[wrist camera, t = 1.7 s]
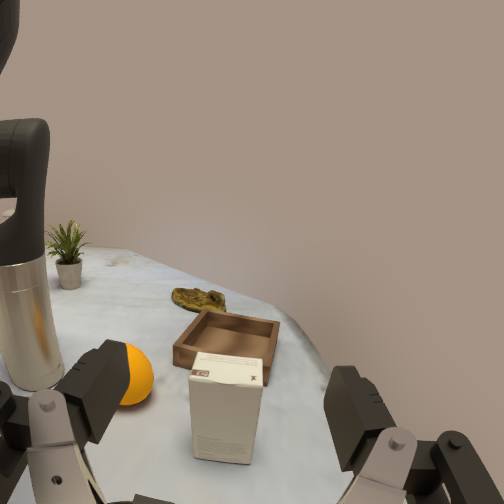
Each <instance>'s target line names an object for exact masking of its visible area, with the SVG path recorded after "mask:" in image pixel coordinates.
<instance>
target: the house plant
mask: <svg viewBox="0 0 504 504" xmlns="http://www.w3.org/2000/svg"><path fill="white" fill-rule="evenodd" d="M72 223H73V222H72V220H71V221H69V223H68V227H67V236H66V234H65V232H64V230H63V228H62V226H61V224H60V225H59V226H60V231H61V234H60V233H58V231H57V230H56V229H55V228H54V227H53V226H51V227H52V228H53V229H54V231H55V233H56V234H57V236H58V238H59V239H60V241H61V242H60V241H59V240H58V241H59V242H60V243H61V244H58V243H57V241H56V240H55V238H54V237H53V239H54V240H55V241H56V243H57V244H56V243H51V242H50V243H48V244H44V245H50V246H49V247H48V248H50V247H54V248H55V250H56V251H54V250H53V251H54V252H49V254H51V253H52V256H51V258H52V257H53V256H54V255H56V254H57V253H59V254H60V255H61V256H60V255H59V256H60V257H61V258H60V259H58V260H56V262H55V263H56V267H57V271H58V276H59V280H60V283H61V287H62V288H63V289H67V290H72V289H76V288H79V287H80V284H81V271H82V259H80V258H77V257H78V256H79V255H80V254H81V253H78V251H79V248H80V247H81V246H83V245H85V244H87V243H85V244H83V245H81V246H80V247H79V248H76V247H77V244H78V243H79V241H80V239H81V238H82V237H81V235H82V233H83V232H81V233H80V234H79V228H80V226H79V227H78V230H77V223H76V226H75V229H74V234H73V237H72V242H71V239H70V233H71V226H72ZM49 226H50V225H49ZM76 230H77V232H76ZM75 234H76V236H75ZM78 234H79V235H78ZM50 236H51V235H50ZM82 236H83V235H82ZM51 237H52V236H51ZM80 237H81V238H80ZM56 238H57V237H56ZM74 238H75V239H74ZM73 242H74V243H73ZM48 248H47V249H48ZM57 248H58V249H59V248H60V249H61V250H60V249H59V250H60V251H61V253H62V254H61V253H60V252H59V251H58V250H57ZM47 249H46V250H47ZM75 249H76V251H75ZM51 250H52V249H51ZM62 250H64V251H65V253H64V252H63V251H62ZM74 252H75V253H74ZM49 254H48V255H49ZM82 254H84V253H82ZM48 255H47V256H48ZM73 255H74V256H73Z"/></svg>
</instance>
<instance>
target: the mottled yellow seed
mask: <svg viewBox="0 0 504 504" xmlns="http://www.w3.org/2000/svg"><path fill="white" fill-rule="evenodd" d="M172 301H173V302H174V303H175V304H176V305H178V306H179V307H181V308H183V309H186V310H189V311H192V312H196V313H200V312H201V311H202V310H203V309H204V308H206V309H211V310H216V311H221V312H226V306H225V297H224V295H223V294H222V293H219V292H216V291H213V290H211V291H209V292H208V293H206V292H203V291H201V290H200V289H197V288H194V289H184V288H175V289H173V292H172Z"/></svg>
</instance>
